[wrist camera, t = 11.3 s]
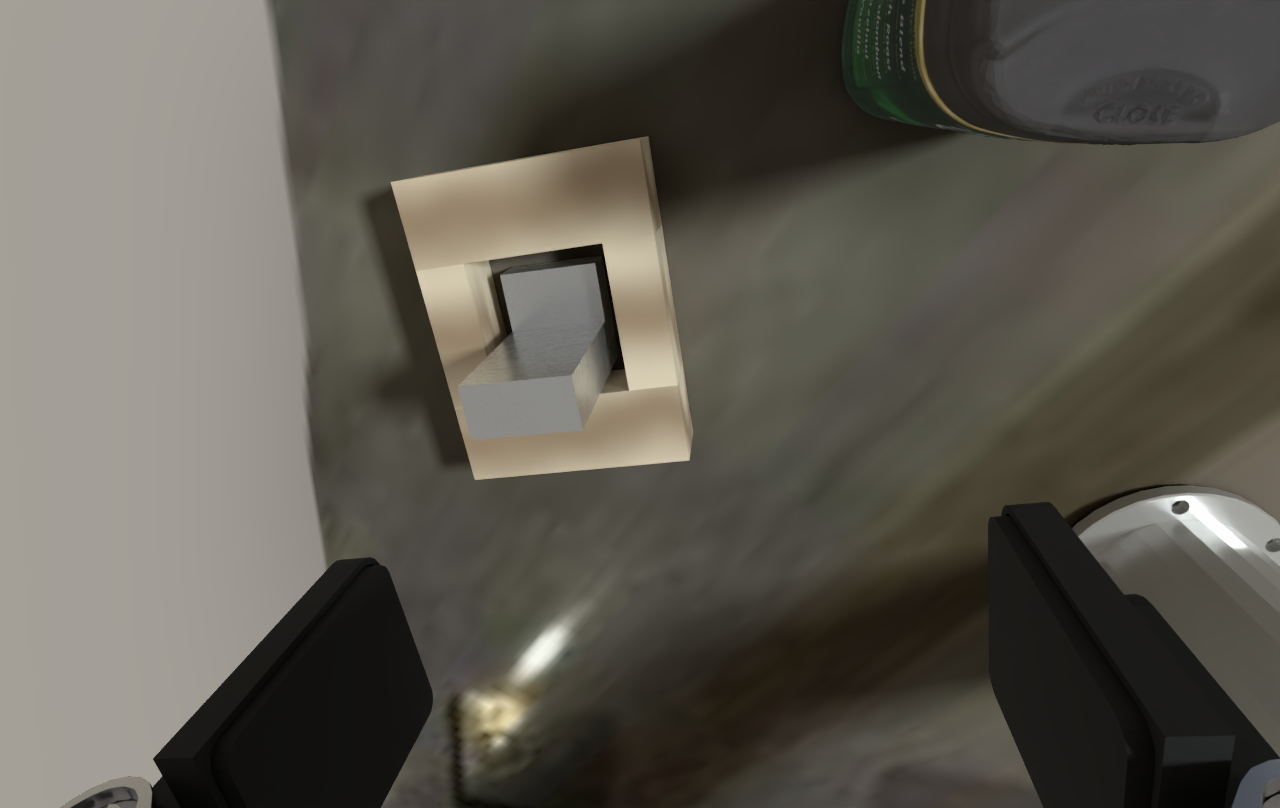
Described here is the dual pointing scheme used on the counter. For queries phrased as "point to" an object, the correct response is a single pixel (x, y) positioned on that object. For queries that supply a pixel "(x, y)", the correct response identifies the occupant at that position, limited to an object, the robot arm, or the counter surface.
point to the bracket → (545, 353)
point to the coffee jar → (1068, 67)
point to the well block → (539, 222)
